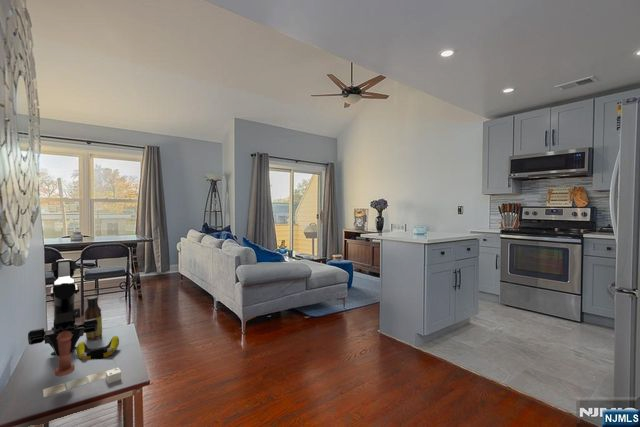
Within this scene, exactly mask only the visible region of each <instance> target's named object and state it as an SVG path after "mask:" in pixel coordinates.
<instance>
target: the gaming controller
mask: <svg viewBox="0 0 640 427" xmlns="http://www.w3.org/2000/svg"><path fill="white" fill-rule="evenodd" d="M119 344H120V339H119V336H117V335H114V336H112V338H111V339H110V340H109V342H108V344H107V345H106V346H102V347H95V348H89V347H88V346H87V344H86V343H85V342H84V341H81V342H79V343H78V344H77V345H76V347H77V348H76V349H75V350H76V355H77V357H78V359H80V360H98V359H102V358H107V357H109V356H111V355H113V354H114V353H115V352H116V351H117V349H118V347H119Z"/></svg>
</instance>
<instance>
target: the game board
mask: <svg viewBox="0 0 640 427" xmlns="http://www.w3.org/2000/svg"><path fill="white" fill-rule="evenodd" d="M102 379H106V370H102V371H99V372H95V373H92V374H89V375H87V376H82V377H79V378H76V379H72V380H69V381H66V382H63V383H60V384H57V385H54V386H50V387H47V388H44V389H42V392H43V398H47V397H50V396H53V395H56V394H59V393H62V392H66V390H67V391H68V390H72V389H75V388H78V387H81V386H83V385H87V384H88V383H89V384H91V383H93V382H96V381H99V380H102Z"/></svg>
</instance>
